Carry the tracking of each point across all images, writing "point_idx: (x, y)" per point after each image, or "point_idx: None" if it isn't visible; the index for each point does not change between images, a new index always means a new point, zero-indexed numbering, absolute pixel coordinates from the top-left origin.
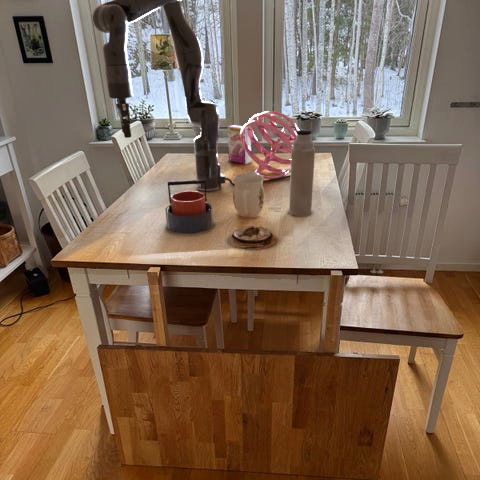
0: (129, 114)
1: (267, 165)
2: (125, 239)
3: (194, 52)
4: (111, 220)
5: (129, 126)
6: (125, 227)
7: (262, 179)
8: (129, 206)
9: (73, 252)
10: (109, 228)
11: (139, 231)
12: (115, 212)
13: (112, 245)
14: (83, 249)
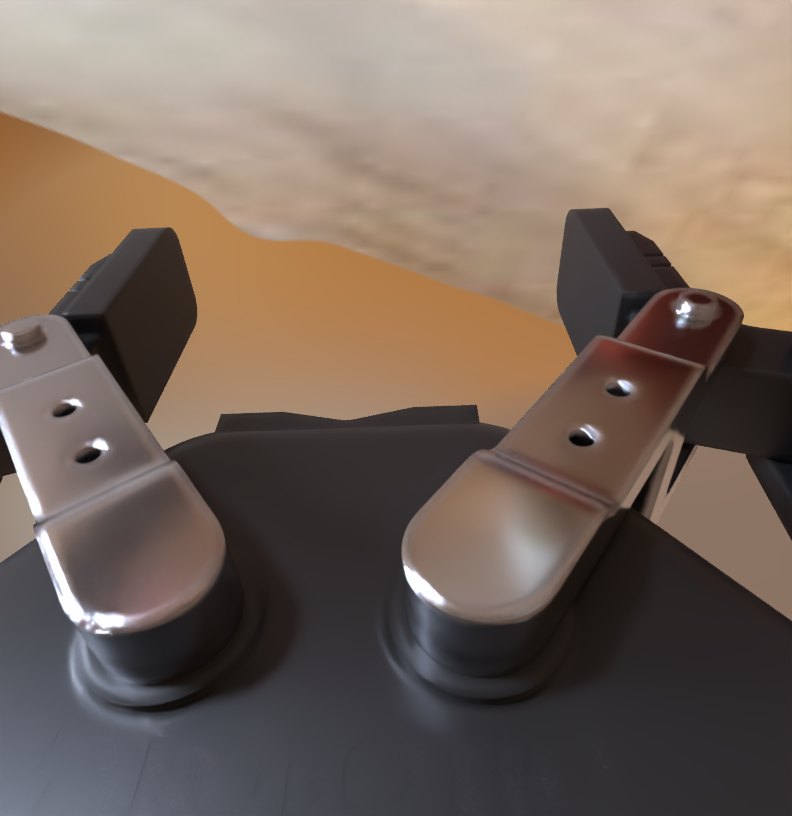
0: (690, 399)
1: None
2: (746, 147)
3: None
4: (432, 213)
5: (662, 290)
6: (572, 140)
7: None
8: (209, 98)
9: None
10: (547, 224)
11: (676, 58)
12: (307, 189)
13: (780, 213)
14: None
